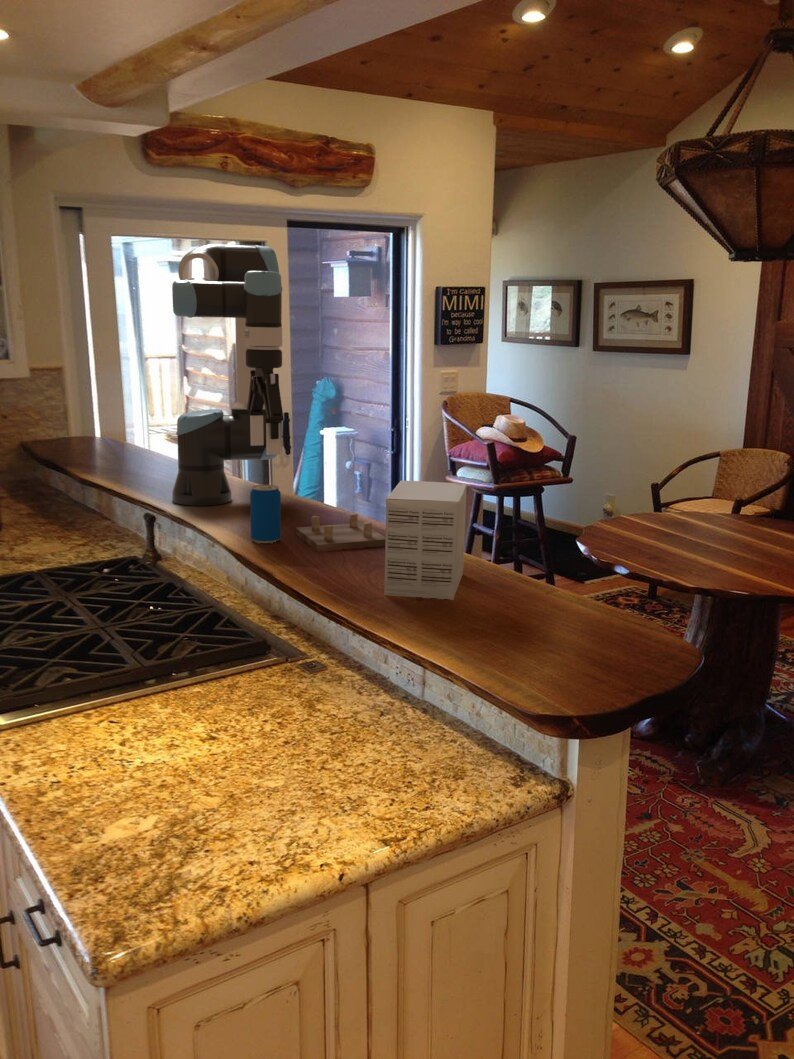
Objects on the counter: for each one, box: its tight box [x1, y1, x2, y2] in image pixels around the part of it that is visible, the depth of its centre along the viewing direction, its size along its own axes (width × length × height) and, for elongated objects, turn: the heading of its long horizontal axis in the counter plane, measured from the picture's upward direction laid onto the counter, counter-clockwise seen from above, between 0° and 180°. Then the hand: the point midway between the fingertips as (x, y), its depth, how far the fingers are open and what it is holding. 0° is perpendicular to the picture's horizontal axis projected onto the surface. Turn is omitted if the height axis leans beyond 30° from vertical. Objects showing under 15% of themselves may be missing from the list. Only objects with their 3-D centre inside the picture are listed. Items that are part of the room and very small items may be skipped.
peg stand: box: [295, 512, 386, 553], centre depth 201 cm, size 16×16×4 cm
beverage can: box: [249, 484, 282, 544], centre depth 197 cm, size 6×6×12 cm
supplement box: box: [383, 479, 468, 601], centre depth 168 cm, size 17×13×18 cm
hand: (265, 449), depth 194 cm, fingers open, 13 cm apart
